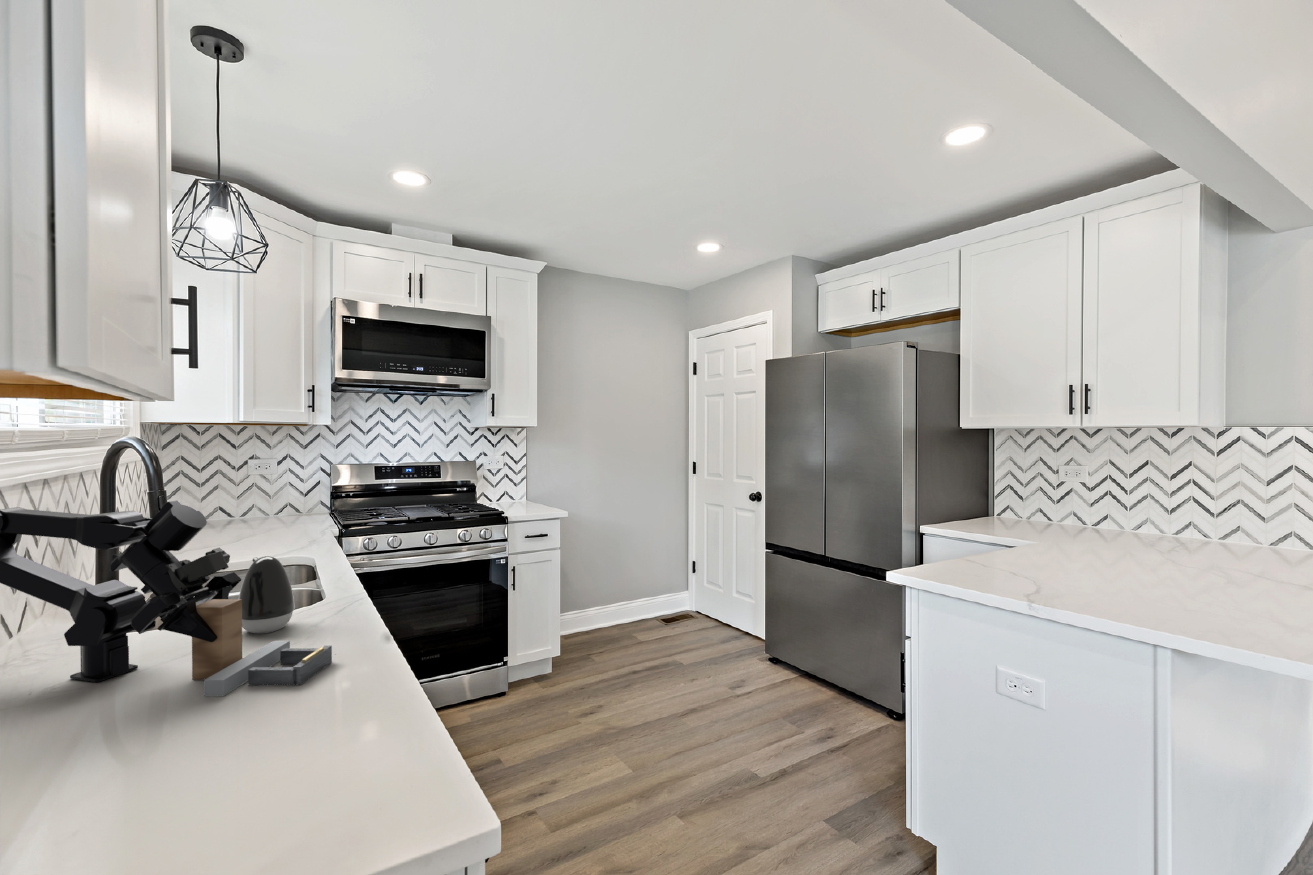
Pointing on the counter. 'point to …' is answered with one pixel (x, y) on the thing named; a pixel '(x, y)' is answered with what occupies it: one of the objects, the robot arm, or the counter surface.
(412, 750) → the counter surface
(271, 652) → the door edge
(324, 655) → the keeper
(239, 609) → the block
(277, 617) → the dark grey egg shape
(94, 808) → the counter surface
